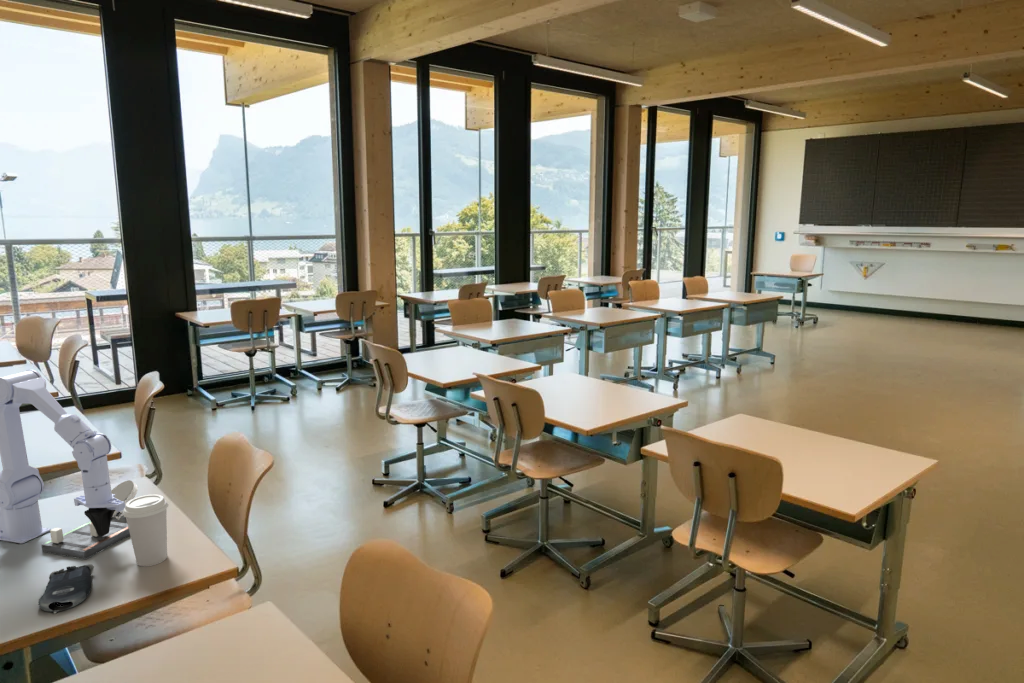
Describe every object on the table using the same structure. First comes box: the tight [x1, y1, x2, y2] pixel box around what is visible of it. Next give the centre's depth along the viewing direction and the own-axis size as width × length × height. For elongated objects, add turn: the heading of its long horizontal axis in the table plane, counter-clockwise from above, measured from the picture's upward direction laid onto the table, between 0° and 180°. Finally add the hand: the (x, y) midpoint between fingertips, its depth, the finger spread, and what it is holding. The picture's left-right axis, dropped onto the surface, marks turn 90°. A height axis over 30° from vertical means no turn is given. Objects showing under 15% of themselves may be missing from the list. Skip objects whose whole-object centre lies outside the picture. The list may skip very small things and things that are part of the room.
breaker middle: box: [89, 522, 98, 537], centre depth 170 cm, size 2×2×4 cm
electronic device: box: [37, 563, 95, 614], centre depth 147 cm, size 9×6×15 cm
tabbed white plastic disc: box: [111, 479, 139, 520], centre depth 189 cm, size 15×8×11 cm, turn 47°
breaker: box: [49, 527, 64, 543], centre depth 167 cm, size 2×2×3 cm
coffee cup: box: [122, 493, 169, 567], centre depth 160 cm, size 10×10×15 cm
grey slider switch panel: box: [40, 520, 131, 560], centre depth 171 cm, size 14×15×2 cm
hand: (103, 534), depth 170 cm, fingers closed
